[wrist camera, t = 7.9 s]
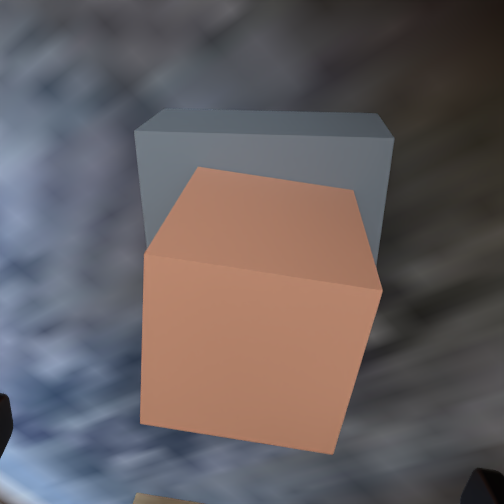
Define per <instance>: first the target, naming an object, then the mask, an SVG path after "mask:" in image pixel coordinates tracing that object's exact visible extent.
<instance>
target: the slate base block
mask: <svg viewBox="0 0 504 504" xmlns="http://www.w3.org/2000/svg"><path fill="white" fill-rule="evenodd" d="M134 135H135V144H136V154H137V163H138V172H139V182H140V191H141V200H142V209H143V219H144V228H145V237H146V247H147V248H148V247H149V245H150V244H151V242H152V240H153V239H154V237H155V235H156V234H157V232H158V231H159V229H160V227H161V226H162V224H163V222H164V221H165V219H166V218H167V216H168V214H169V213H170V211H171V209H172V208H173V206H174V205H175V203H176V201H177V200H178V198H179V196H180V195H181V193H182V192H183V190H184V188H185V187H186V185H187V183H188V182H189V180H190V179H191V177H192V175H193V174H194V172H195V170H196V169H197V167H204V168H210V169H217V170H224V171H230V172H237V173H243V174H250V175H257V176H263V177H270V178H276V179H283V180H290V181H296V182H303V183H310V184H316V185H323V186H329V187H336V188H343V189H349V190H354V194H355V197H356V201H357V204H358V208H359V211H360V214H361V218H362V221H363V225H364V228H365V231H366V235H367V238H368V242H369V245H370V249H371V252H372V255H373V259H374V262H375V266H376V265H377V258H378V251H379V244H380V236H381V229H382V222H383V215H384V208H385V201H386V194H387V187H388V180H389V173H390V166H391V159H392V152H393V144H394V137H393V135H392V134H391V132H390V131H389V130H388V128H387V127H386V125H385V124H384V122H383V121H382V119H381V118H380V116H379V115H378V114H377V113H340V112H296V111H252V110H208V109H163V110H162V111H160V112H159V113H158V114H156V115H155V116H154V117H152V118H151V119H150V120H148V121H147V122H145V123H144V124H143V125H141V126H140V127H139V128H137V129H136V130H135V131H134Z"/></svg>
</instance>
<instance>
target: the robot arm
mask: <svg viewBox="0 0 504 504" xmlns="http://www.w3.org/2000/svg"><path fill="white" fill-rule="evenodd" d="M12 431H13V419H12V413H11V407H10V400H9V397H8V396H7V395H6V394H3V393H0V458H1V456H2V454H3V452H4V450H5V448H6V445H7V443H8V441H9V439H10V437H11V434H12ZM460 504H504V476H503V475H502V474H501V473H500V472H498V471H496V470H491V469H484V468H476V469H475V470H474V471H473V472H472V474H471V476H470V478H469V480H468V482H467V484H466V486H465V488H464V490H463V492H462V495H461V499H460Z"/></svg>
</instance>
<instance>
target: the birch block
mask: <svg viewBox="0 0 504 504" xmlns="http://www.w3.org/2000/svg"><path fill="white" fill-rule="evenodd" d="M133 504H204V503H198V502H192V501H185V500H179V499H173V498H167V497H161V496H154V495H148V494H142V493H136V496H135V499H134V501H133Z"/></svg>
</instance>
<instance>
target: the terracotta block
mask: <svg viewBox="0 0 504 504" xmlns="http://www.w3.org/2000/svg"><path fill="white" fill-rule="evenodd" d="M382 292H383V290H382V286H381V283H380V279H379V276H378V273H377V269H376V266H375V262H374V259H373V255H372V252H371V249H370V245H369V242H368V238H367V235H366V231H365V228H364V225H363V221H362V218H361V214H360V211H359V208H358V204H357V201H356V197H355V194H354V190H349V189H343V188H336V187H329V186H323V185H316V184H310V183H303V182H296V181H290V180H283V179H276V178H270V177H263V176H257V175H250V174H243V173H237V172H230V171H224V170H217V169H210V168H204V167H197V169H196V170H195V172H194V174H193V175H192V177H191V179H190V180H189V182H188V183H187V185H186V187H185V188H184V190H183V192H182V193H181V195H180V196H179V198H178V200H177V201H176V203H175V205H174V206H173V208H172V209H171V211H170V213H169V214H168V216H167V218H166V219H165V221H164V222H163V224H162V226H161V227H160V229H159V231H158V232H157V234H156V235H155V237H154V239H153V240H152V242H151V244H150V245H149V247H148V248H147V250H146V252H145V253H144V281H143V323H142V364H141V405H140V424H145V425H151V426H157V427H164V428H170V429H176V430H182V431H188V432H195V433H201V434H207V435H213V436H220V437H226V438H232V439H238V440H244V441H251V442H257V443H263V444H269V445H275V446H282V447H288V448H294V449H300V450H307V451H313V452H319V453H325V454H331V455H333V453H334V450H335V446H336V443H337V440H338V437H339V433H340V430H341V427H342V423H343V420H344V417H345V413H346V410H347V407H348V404H349V400H350V397H351V394H352V390H353V387H354V384H355V381H356V377H357V374H358V371H359V367H360V364H361V361H362V358H363V354H364V351H365V348H366V344H367V341H368V338H369V335H370V331H371V328H372V325H373V321H374V318H375V315H376V311H377V308H378V305H379V302H380V298H381V295H382Z"/></svg>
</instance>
